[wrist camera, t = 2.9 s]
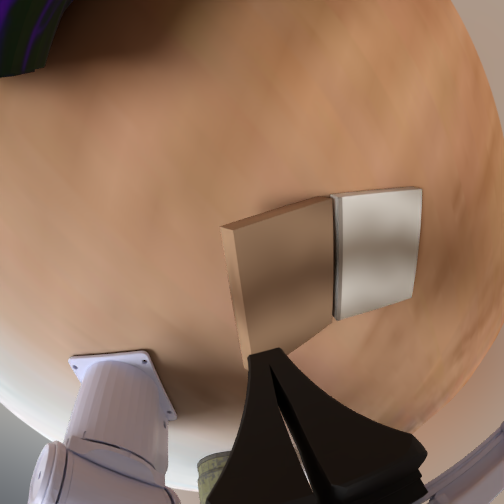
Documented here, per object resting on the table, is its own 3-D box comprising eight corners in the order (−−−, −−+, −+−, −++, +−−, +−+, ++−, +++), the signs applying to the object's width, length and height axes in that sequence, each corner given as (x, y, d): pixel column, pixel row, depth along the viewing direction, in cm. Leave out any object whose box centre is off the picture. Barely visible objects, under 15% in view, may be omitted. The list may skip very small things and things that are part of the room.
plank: (320, 317, 23) (331, 322, 22) (243, 367, 18) (255, 376, 18) (318, 196, 19) (332, 198, 18) (219, 226, 15) (233, 230, 14)
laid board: (404, 291, 24) (411, 297, 23) (330, 313, 23) (337, 320, 22) (412, 186, 21) (422, 189, 19) (330, 194, 19) (338, 197, 18)
